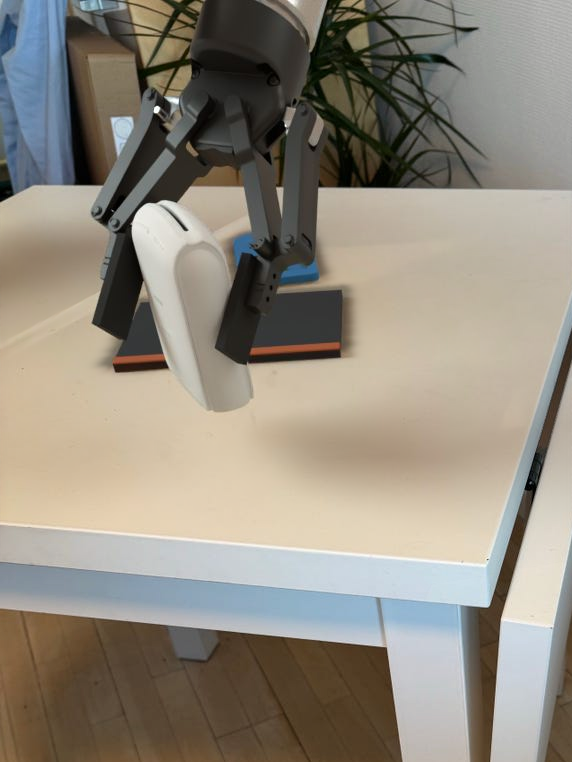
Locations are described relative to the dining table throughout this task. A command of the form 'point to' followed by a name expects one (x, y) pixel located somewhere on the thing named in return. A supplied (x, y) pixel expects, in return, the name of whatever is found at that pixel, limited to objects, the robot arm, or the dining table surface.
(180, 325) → the photo printer
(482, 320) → the dining table surface
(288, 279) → the handheld gaming device
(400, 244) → the dining table surface
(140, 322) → the mat
